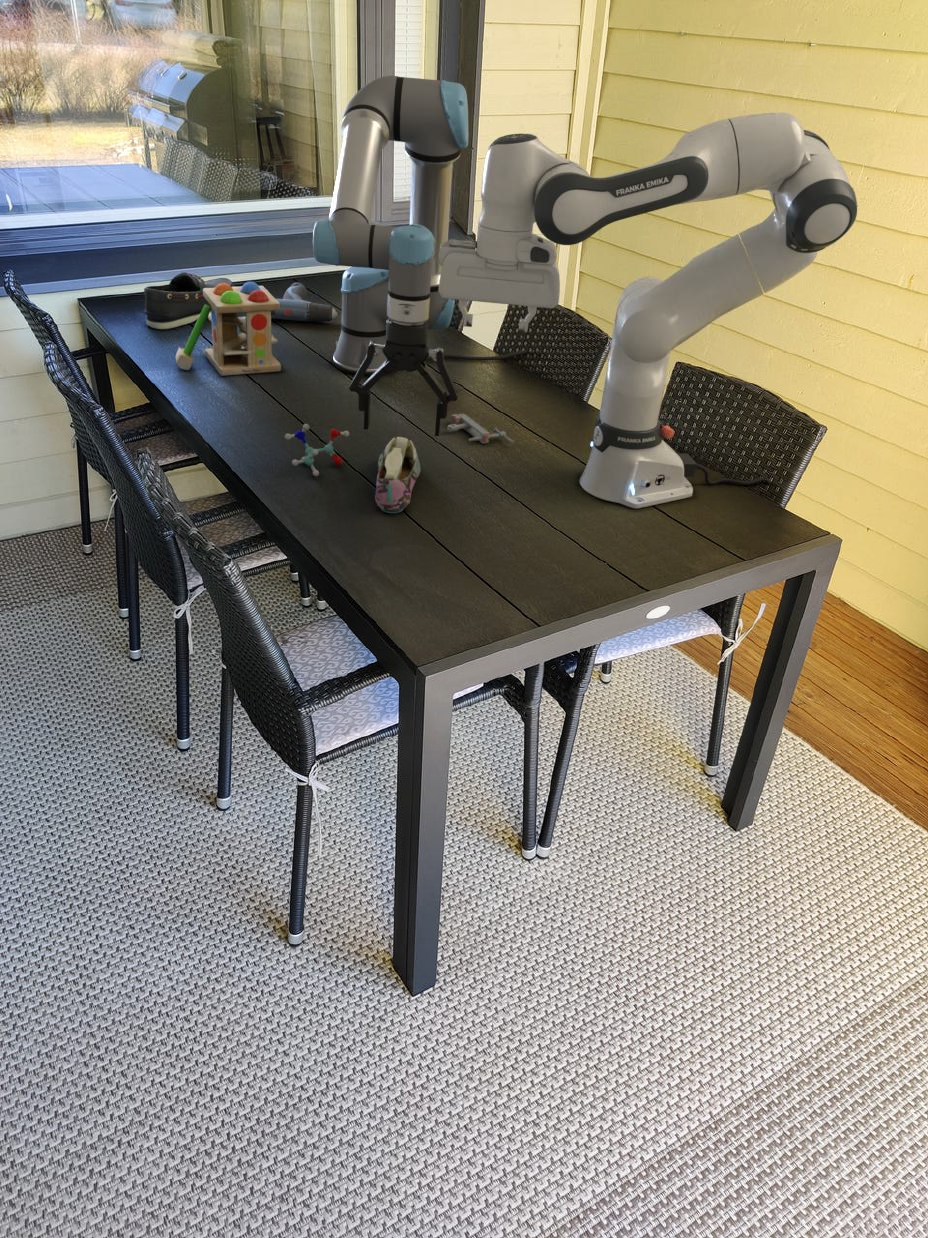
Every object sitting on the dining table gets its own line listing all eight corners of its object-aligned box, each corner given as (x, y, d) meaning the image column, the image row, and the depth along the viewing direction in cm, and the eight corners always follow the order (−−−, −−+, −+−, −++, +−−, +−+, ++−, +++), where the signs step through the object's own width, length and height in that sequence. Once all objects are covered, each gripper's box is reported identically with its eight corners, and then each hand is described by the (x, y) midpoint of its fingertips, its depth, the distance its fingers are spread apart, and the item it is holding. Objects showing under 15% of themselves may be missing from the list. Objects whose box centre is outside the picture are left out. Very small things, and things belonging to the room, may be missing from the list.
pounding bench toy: (183, 379, 220) (176, 299, 210) (169, 357, 231) (162, 280, 221) (282, 371, 230) (280, 294, 220) (264, 350, 240) (262, 276, 230)
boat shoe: (255, 307, 269) (253, 268, 263) (164, 331, 245) (159, 289, 239) (221, 298, 274) (218, 260, 269) (128, 321, 250) (123, 279, 245)
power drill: (344, 304, 276) (335, 327, 259) (277, 298, 275) (264, 321, 258) (344, 285, 273) (335, 306, 256) (277, 279, 272) (264, 300, 255)
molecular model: (334, 468, 182) (316, 416, 180) (292, 484, 185) (274, 433, 184) (360, 462, 192) (343, 413, 191) (320, 477, 196) (303, 429, 194)
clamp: (439, 415, 210) (479, 410, 214) (438, 425, 211) (478, 419, 216) (475, 444, 199) (516, 437, 204) (474, 454, 201) (515, 447, 205)
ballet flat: (423, 461, 196) (425, 420, 192) (413, 518, 176) (415, 475, 171) (381, 457, 196) (383, 416, 191) (366, 514, 176) (368, 470, 171)
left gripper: (335, 319, 173) (334, 431, 185) (476, 332, 173) (465, 444, 185) (341, 306, 179) (339, 416, 191) (477, 319, 180) (467, 428, 191)
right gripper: (438, 242, 156) (433, 328, 164) (566, 254, 157) (554, 339, 164) (441, 233, 161) (435, 316, 169) (564, 244, 162) (553, 327, 170)
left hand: (401, 430), depth 188 cm, fingers open, 13 cm apart
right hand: (495, 328), depth 167 cm, fingers open, 8 cm apart
